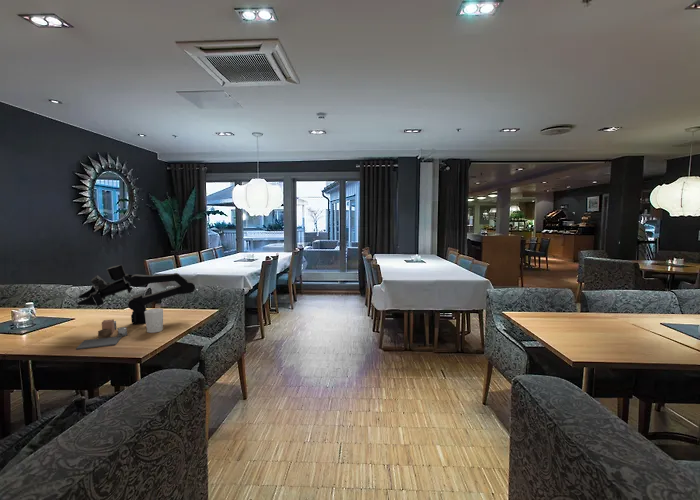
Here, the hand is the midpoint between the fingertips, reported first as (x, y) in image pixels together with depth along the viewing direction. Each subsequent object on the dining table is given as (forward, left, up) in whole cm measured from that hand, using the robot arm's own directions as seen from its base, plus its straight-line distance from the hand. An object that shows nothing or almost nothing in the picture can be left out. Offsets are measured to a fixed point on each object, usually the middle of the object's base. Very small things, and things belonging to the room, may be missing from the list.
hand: (78, 300), depth 167 cm
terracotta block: (-14, +9, -15) cm, 22 cm away
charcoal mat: (-14, +23, -15) cm, 31 cm away
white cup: (-34, +13, -15) cm, 39 cm away
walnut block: (-14, +15, -15) cm, 25 cm away
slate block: (-14, +3, -15) cm, 21 cm away
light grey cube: (-21, +15, -15) cm, 30 cm away
